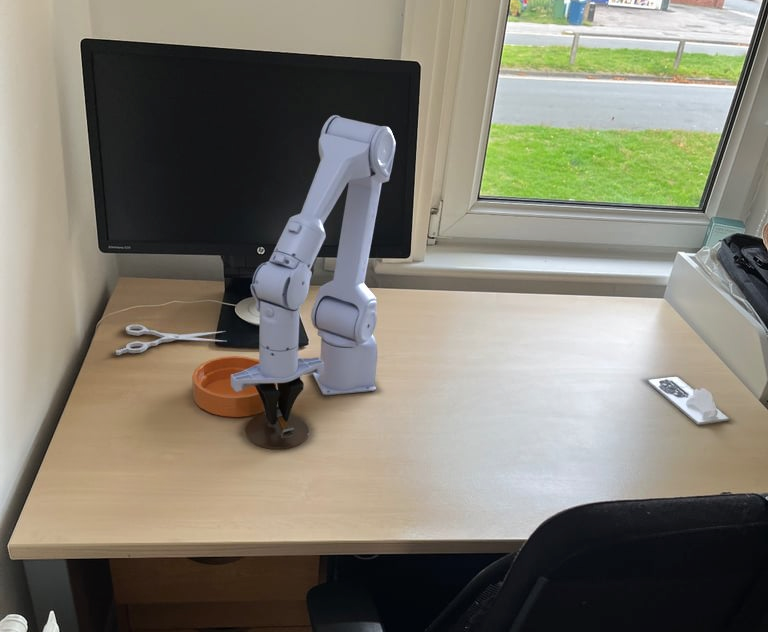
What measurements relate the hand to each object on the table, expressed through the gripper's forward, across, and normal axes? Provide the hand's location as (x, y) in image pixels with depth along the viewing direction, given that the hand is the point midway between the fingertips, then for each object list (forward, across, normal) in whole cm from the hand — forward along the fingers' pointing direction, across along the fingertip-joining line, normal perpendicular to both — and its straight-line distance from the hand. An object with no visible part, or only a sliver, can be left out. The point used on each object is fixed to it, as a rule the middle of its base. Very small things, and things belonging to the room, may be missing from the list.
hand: (277, 419), depth 129 cm
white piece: (+2, -72, +21) cm, 75 cm away
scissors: (+2, +4, -35) cm, 35 cm away
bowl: (+2, +2, -12) cm, 13 cm away
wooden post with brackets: (+1, 0, 0) cm, 1 cm away
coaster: (+2, 0, 0) cm, 2 cm away
